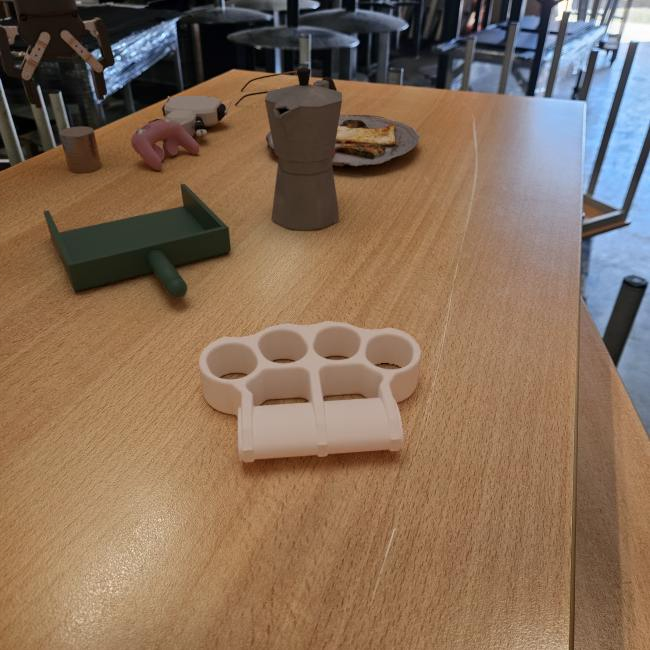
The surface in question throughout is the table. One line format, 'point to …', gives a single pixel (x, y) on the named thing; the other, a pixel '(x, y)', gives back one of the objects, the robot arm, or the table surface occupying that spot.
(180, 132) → the pink curved piece
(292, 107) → the coffeepot
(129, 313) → the table surface
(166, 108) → the robot toy
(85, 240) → the scoop
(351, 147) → the food plate
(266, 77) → the sunglasses
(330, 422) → the white brass knuckles
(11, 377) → the table surface
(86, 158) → the metal canister
